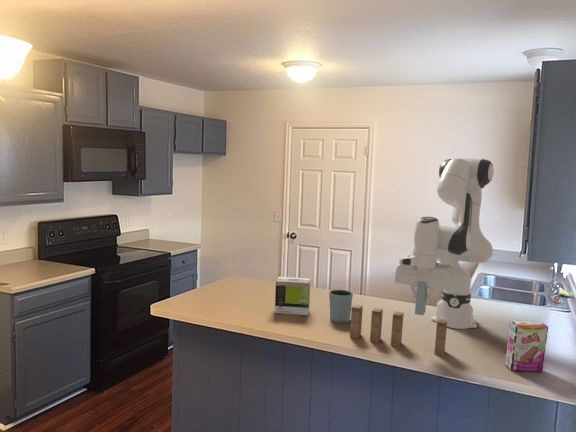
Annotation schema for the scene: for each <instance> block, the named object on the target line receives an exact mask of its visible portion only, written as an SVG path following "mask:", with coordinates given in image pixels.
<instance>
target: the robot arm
mask: <svg viewBox="0 0 576 432" xmlns="http://www.w3.org/2000/svg"><path fill="white" fill-rule="evenodd" d="M494 172H495V169H494V165H493V163H492V161H491V160H489V159H484V158H480V159H478V158H470V157H469V158H468V157H467V158H460V157H456V158H449V159H445V160H443V161H442V162H441V163H440V164H439V169H438V175H439V180H438V183H437V187H436V192H437V195H438V198H440V200H441V201H442V202H444V203H445V204H446V205H449V206H451V207H452V212H451V220H452V222H453V224H454V225H455V226H448V225H440V221H439V219H438V218H436V217H433V216H422V217H419V218H418V219H417V221H416V224H415V228H414V235H413V244H414V246H413V250H412V254H411V255H405V256H402V257H401V258H400V259H399V260H398V261H399V262H398V263H399V265H398V266H397V267H396V269H395V274H394V281H395V283H396V284H400V285H401V284H402V285H409V286H410V290H411V291H412V293H413V294H412V298H415V299H416V293H417V290H416V289H415V288H416V287H417V282H424V283H426V287H427V289H428V291H429V293H427V294H426V296H425V299H426V301H430V299H431V294H433V292H434V291H435V290H440V291H441V290H442V291H441V297H440V298H441V299H440V300H439V301H438V302H437V303H436V304H437V305H436V309H435V310H436V312H435V315H433V316H432V317H431V318H430V320H431V321H433V322H435V323H437V321H438V319H439V318H440V319H446V320H447V328H451V329H456V330H457V329H458V330H467V329H476V328H478V326H477V323H476V321H475V319H474V314H473V312H474V307H473V306H472V305H471V299H472V294H471V286H472V277H471V274H470V273H469V272H468V270H465V269H464V268H463V267H461V265H460V263H459V262H464V263H465V262H466V263H470V264H484V263H487V262H488V261H490V259H491V258H492V256H493V254H494V253H493V249H494V248H493V246H492V244H491V242H490V241H489V240H488V239H487V237H485V235H484V234H483V232H482V230H481V226H480V212H481V208H482V207H481V205H482V198H483V197H482V189H484V188H485V187H486V186H487V185H489V184H490V183H491V181H492V180H493V177H494V174H495V173H494Z"/></svg>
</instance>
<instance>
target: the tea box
mask: <svg viewBox="0 0 576 432" xmlns="http://www.w3.org/2000/svg"><path fill="white" fill-rule="evenodd" d="M274 294H275V295H274V296H275V297H274V298H275V299H274V314H284V315H299V316H309V311H310V300H311V299H310V298H311V278H308V277H307V278H306V277H304V278H303V277H291V276H290V277H288V276H278V278H277V279H276V281H275V292H274Z"/></svg>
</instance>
